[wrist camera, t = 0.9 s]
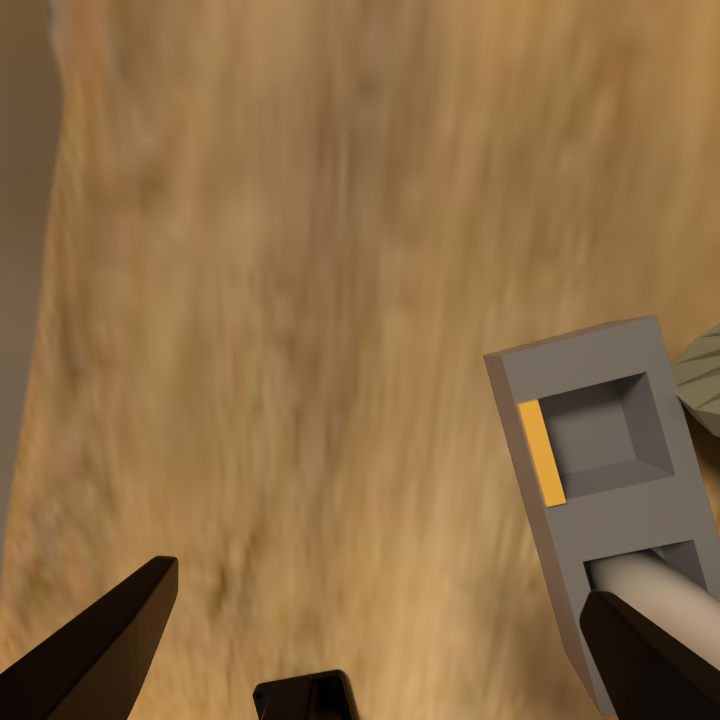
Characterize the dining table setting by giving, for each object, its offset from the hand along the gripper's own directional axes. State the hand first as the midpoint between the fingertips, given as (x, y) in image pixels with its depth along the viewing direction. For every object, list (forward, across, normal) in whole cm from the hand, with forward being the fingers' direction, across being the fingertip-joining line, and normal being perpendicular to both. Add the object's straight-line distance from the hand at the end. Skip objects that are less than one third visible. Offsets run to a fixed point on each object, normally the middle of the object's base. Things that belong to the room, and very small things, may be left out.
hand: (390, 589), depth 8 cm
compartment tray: (+13, -15, +5) cm, 21 cm away
